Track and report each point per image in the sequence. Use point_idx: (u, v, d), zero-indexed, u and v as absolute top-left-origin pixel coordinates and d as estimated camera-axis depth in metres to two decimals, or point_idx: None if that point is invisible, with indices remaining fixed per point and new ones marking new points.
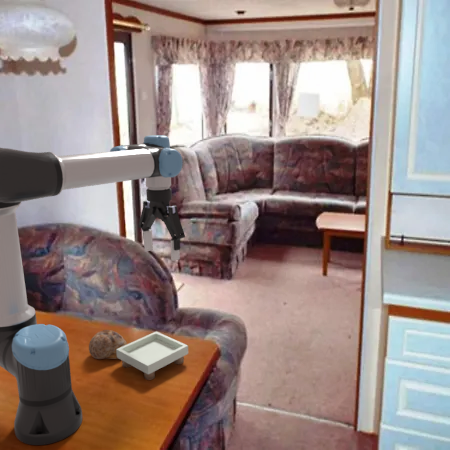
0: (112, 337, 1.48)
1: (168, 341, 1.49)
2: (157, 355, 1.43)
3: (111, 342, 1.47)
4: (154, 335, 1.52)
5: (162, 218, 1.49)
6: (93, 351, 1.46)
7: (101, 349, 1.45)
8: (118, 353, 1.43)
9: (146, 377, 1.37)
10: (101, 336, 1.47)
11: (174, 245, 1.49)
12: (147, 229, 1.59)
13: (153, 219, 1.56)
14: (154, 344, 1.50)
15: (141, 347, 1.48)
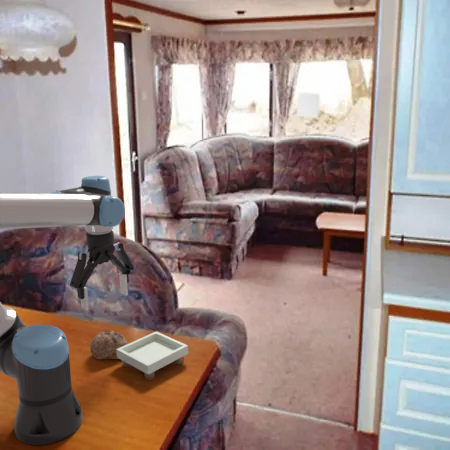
0: (114, 337, 1.48)
1: (168, 341, 1.49)
2: (157, 355, 1.43)
3: (113, 342, 1.47)
4: (154, 335, 1.52)
5: None
6: (95, 351, 1.46)
7: (103, 349, 1.45)
8: (118, 353, 1.43)
9: (146, 377, 1.37)
10: (103, 336, 1.47)
11: None
12: (123, 272, 1.50)
13: (114, 263, 1.46)
14: (154, 344, 1.50)
15: (141, 347, 1.48)
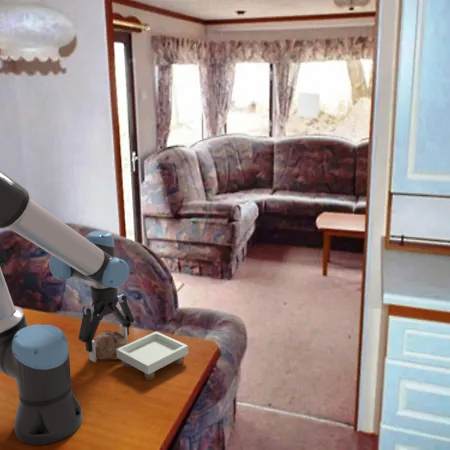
0: (114, 337, 1.48)
1: (168, 341, 1.49)
2: (157, 355, 1.43)
3: (113, 342, 1.47)
4: (154, 335, 1.52)
5: None
6: None
7: (103, 349, 1.45)
8: (118, 353, 1.43)
9: (146, 377, 1.37)
10: (103, 336, 1.47)
11: None
12: (124, 324, 1.53)
13: (116, 315, 1.50)
14: (154, 344, 1.50)
15: (141, 347, 1.48)
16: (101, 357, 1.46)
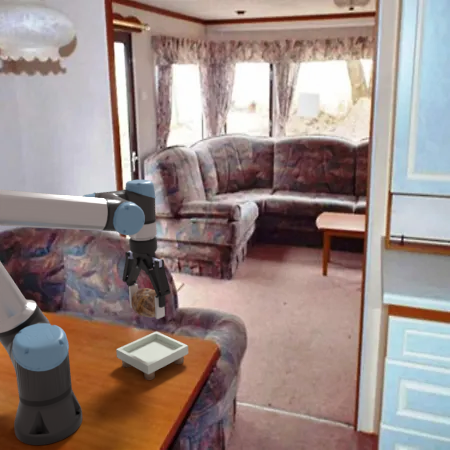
0: (151, 289, 1.43)
1: (168, 341, 1.49)
2: (157, 355, 1.43)
3: None
4: (154, 335, 1.52)
5: (147, 271, 1.36)
6: None
7: None
8: (118, 353, 1.43)
9: (146, 377, 1.37)
10: (154, 290, 1.40)
11: (159, 302, 1.36)
12: (132, 283, 1.44)
13: (138, 271, 1.42)
14: (154, 344, 1.50)
15: (141, 347, 1.48)
16: None
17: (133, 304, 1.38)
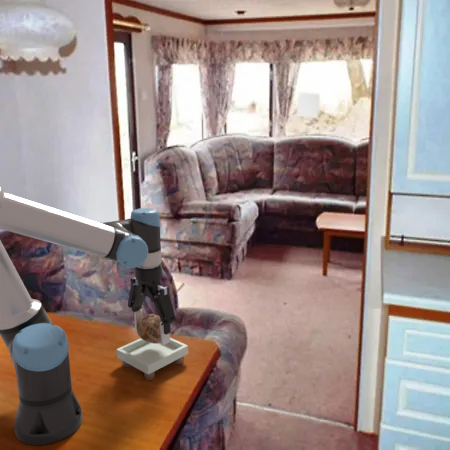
0: (156, 315, 1.44)
1: None
2: (157, 355, 1.43)
3: None
4: None
5: (152, 299, 1.37)
6: None
7: None
8: (118, 353, 1.43)
9: (146, 377, 1.37)
10: (159, 317, 1.41)
11: (164, 329, 1.38)
12: (138, 309, 1.46)
13: (143, 297, 1.43)
14: (154, 344, 1.50)
15: (141, 347, 1.48)
16: None
17: (139, 331, 1.40)
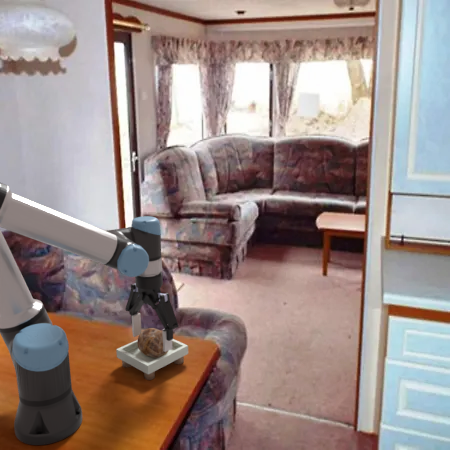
0: (157, 329, 1.45)
1: None
2: None
3: None
4: None
5: (153, 306, 1.37)
6: None
7: None
8: (118, 353, 1.43)
9: (146, 377, 1.37)
10: (160, 331, 1.42)
11: (167, 335, 1.37)
12: (135, 313, 1.47)
13: (142, 303, 1.44)
14: None
15: None
16: None
17: (139, 345, 1.41)
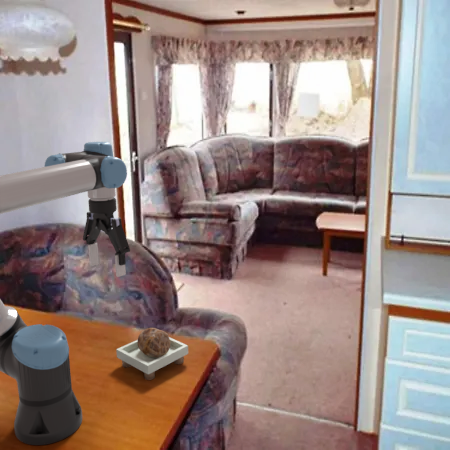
0: (157, 329, 1.46)
1: None
2: None
3: None
4: None
5: (106, 231, 1.38)
6: (167, 346, 1.41)
7: (169, 339, 1.44)
8: (118, 353, 1.43)
9: (146, 377, 1.37)
10: (160, 331, 1.42)
11: (119, 260, 1.38)
12: (92, 242, 1.48)
13: (98, 231, 1.45)
14: None
15: None
16: None
17: (139, 345, 1.41)
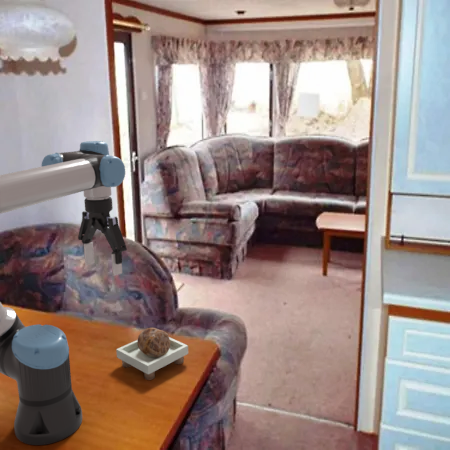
0: (157, 329, 1.46)
1: None
2: None
3: None
4: None
5: (102, 230, 1.39)
6: (167, 346, 1.41)
7: (169, 339, 1.44)
8: (118, 353, 1.43)
9: (146, 377, 1.37)
10: (160, 331, 1.43)
11: (115, 259, 1.39)
12: (88, 241, 1.48)
13: (93, 231, 1.46)
14: None
15: None
16: None
17: (139, 344, 1.41)
